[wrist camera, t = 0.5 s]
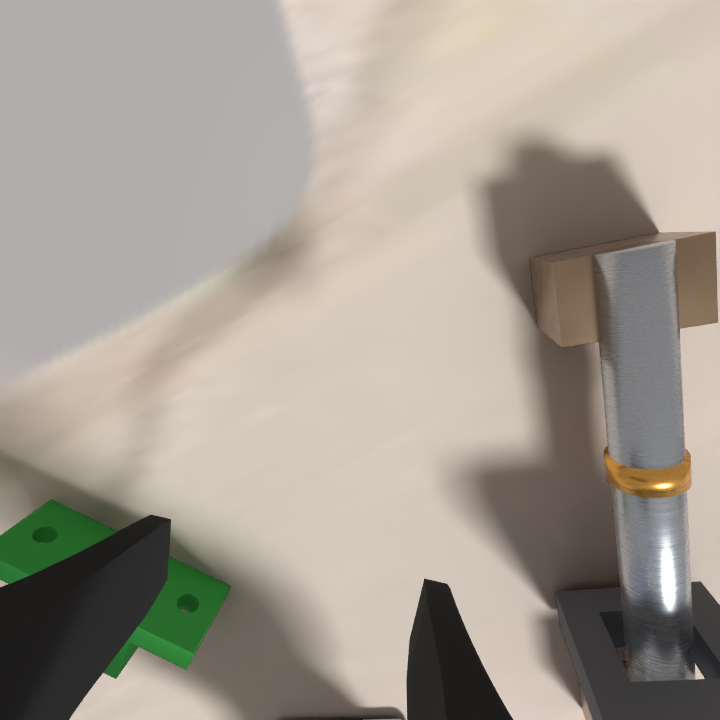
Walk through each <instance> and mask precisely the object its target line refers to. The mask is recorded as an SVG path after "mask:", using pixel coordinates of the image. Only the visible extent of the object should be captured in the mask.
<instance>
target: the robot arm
mask: <svg viewBox="0 0 720 720" xmlns="http://www.w3.org/2000/svg"><path fill="white" fill-rule="evenodd" d="M170 528H171V519H167V518H163V517H159V516H154V515H149V516H147V517H145V518H143V519H141V520H139V521H137V522H135V523H133V524H131V525H130V526H128V527H126V528H124V529H122V530H120V531H118V532H117V533H115V534H113V535H111V536H109V537H107V538H105V539H103V540H101V541H99V542H98V543H96V544H94V545H92V546H90V547H88V548H86V549H84V550H82V551H80V552H78V553H76V554H74V555H72V556H70V557H68V558H66V559H64V560H62V561H60V562H57V563H55V564H53V565H51V566H49V567H47V568H45V569H43V570H41V571H39V572H36V573H34V574H32V575H30V576H27V577H25V578H23V579H20V580H18V581H15V582H13V583H11V584H8V585H5V586H3V587H0V720H69V719H70V717H71V716H72V714H73V713H74V711H75V710H76V708H77V707H78V706H79V704H80V703H81V701H82V700H83V699H84V697H85V696H86V694H87V693H88V692H89V690H90V689H91V688H92V686H93V685H94V684H95V683H96V681H97V680H98V679H99V677H100V676H101V675H102V673H103V672H104V671H105V669H106V668H107V667H108V665H109V664H110V663H111V661H112V660H113V659H114V658H115V656H116V655H117V654H118V652H119V651H120V650H121V648H122V647H123V646H124V644H125V643H126V642H127V640H128V639H129V638H130V636H131V635H132V634H133V632H134V631H135V630H136V628H137V627H138V626H139V624H140V623H141V622H142V620H143V619H144V618H145V616H146V615H147V613H148V612H149V610H150V608H151V607H152V605H153V603H154V602H155V600H156V599H157V597H158V595H159V593H160V592H161V590H162V588H163V586H164V585H165V583H166V581H167V578H168V561H169V544H170ZM365 720H402V719H365ZM407 720H513V718H512V717H511V715H510V714H509V712H508V710H507V709H506V707H505V705H504V703H503V702H502V700H501V698H500V696H499V695H498V693H497V691H496V689H495V687H494V685H493V684H492V682H491V680H490V678H489V676H488V674H487V672H486V670H485V668H484V666H483V664H482V662H481V660H480V658H479V656H478V654H477V652H476V650H475V648H474V646H473V644H472V641H471V639H470V637H469V635H468V633H467V630H466V628H465V626H464V623H463V621H462V618H461V616H460V614H459V611H458V609H457V606H456V603H455V601H454V598H453V595H452V592H451V589H450V588H449V586H448V585H447V584H445V583H441V582H436V581H432V580H428V579H424V583H423V587H422V591H421V595H420V599H419V603H418V608H417V612H416V616H415V620H414V624H413V628H412V632H411V636H410V643H409V655H408V669H407Z"/></svg>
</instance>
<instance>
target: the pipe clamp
mask: <svg viewBox="0 0 720 720" xmlns="http://www.w3.org/2000/svg"><path fill="white" fill-rule="evenodd" d="M115 533H117V531H115V530H113V529H111V528H109V527H107V526H105V525H103V524H101V523H98V522H96V521H94V520H92V519H90V518H88V517H86V516H84V515H82V514H80V513H78V512H76V511H74V510H71V509H69V508H67V507H65V506H63V505H61V504H59V503H57V502H55V501H53V500H50V501H49V502H47V503H46V504H44V505H43V506H41V507H40V508H39V509H37V510H36V511H34V512H33V513H32V514H30V515H29V516H27V517H26V518H25V519H23V520H22V521H20V522H19V523H17V524H16V525H15V526H13V527H12V528H10V529H9V530H8V531H6V532H5V533H3V534H2V535H1V536H0V580H2V581H4V582H6V583H8V584H11V583H13V582H15V581H18V580H20V579H23V578H25V577H27V576H30V575H32V574H34V573H36V572H39V571H41V570H43V569H45V568H47V567H49V566H51V565H53V564H55V563H57V562H60V561H62V560H64V559H66V558H68V557H70V556H72V555H74V554H76V553H78V552H80V551H82V550H84V549H86V548H88V547H90V546H92V545H94V544H96V543H98V542H99V541H101V540H103V539H105V538H107V537H109V536H111V535H113V534H115ZM42 542H43V543H42ZM230 587H231V586H229V585H227V584H225V583H223V582H221V581H219V580H217V579H215V578H213V577H211V576H209V575H207V574H204V573H202V572H200V571H198V570H196V569H194V568H192V567H190V566H188V565H186V564H184V563H182V562H180V561H177V560H175V559H173V558H171V557H169V561H168V578H167V581H166V583H165V585H164V586H163V588H162V590H161V592H160V593H159V595H158V597H157V599H156V600H155V602H154V603H153V605H152V607H151V608H150V610H149V612H148V613H147V615H146V616H145V618H144V619H143V620H142V622H141V623H140V624H139V626H138V627H137V628H136V630H135V631H134V632H133V634H132V635H131V636H130V638H129V639H128V640H127V642H126V643H125V644H124V646H123V647H122V648H121V650H120V651H119V652H118V654H117V655H116V656H115V658H114V659H113V660H112V661H111V663H110V664H109V665H108V667H107V668H106V669H105V671H104V672H103V673H105V674H107V675H109V676H111V677H113V678H115V679H116V678H117V677H118V675H119V674H120V673H121V671H122V670H123V668H124V667H125V665H126V664H127V662H128V661H129V660H130V658H131V657H132V655H133V654H134V652H135V651H136V649H137V648H138V647H141V648H143V649H145V650H147V651H149V652H151V653H153V654H155V655H157V656H159V657H161V658H163V659H165V660H168V661H170V662H172V663H174V664H176V665H178V666H180V667H182V668H184V669H187V668H188V666H189V664H190V662H191V660H192V659H193V657H194V655H195V653H196V651H197V649H198V648H199V646H200V644H201V642H202V640H203V638H204V637H205V635H206V633H207V631H208V629H209V627H210V626H211V624H212V622H213V620H214V618H215V616H216V615H217V613H218V611H219V609H220V607H221V605H222V604H223V602H224V600H225V598H226V595H227V593H228V591H229V589H230ZM180 609H185V610H188V611H189V612H190V613H185V612H182V611H181V610H180Z"/></svg>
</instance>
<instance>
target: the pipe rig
mask: <svg viewBox="0 0 720 720" xmlns="http://www.w3.org/2000/svg"><path fill="white" fill-rule="evenodd" d="M529 259H530V268H531V276H532V285H533V293H534V302H535V310H536V319H537V327H538V329H539V330H540V331H542V332H543V333H544V334H545V335H547V336H548V337H549V338H550V339H552V340H553V341H554V342H555V343H557V344H558V345H559V346H560V347H568V346H574V345H580V344H586V343H593V342H599V349H600V361H601V372H602V384H603V395H604V407H605V418H606V430H607V441H608V446H607V447H606V448H605V450H604V458H605V469H606V478H607V481H608V482H609V483H610V484H611V488H612V499H613V511H614V522H615V534H616V545H617V557H618V568H619V580H620V592H621V603H622V615H623V626H624V638H625V649H626V661H627V662H623V665H624V667H625V670H626V672H627V674H628V676H629V678H630V680H631V682H643V681H671V680H695V659H694V637H693V615H692V593H691V570H690V548H689V526H688V503H687V490H688V489H689V488H690V487H691V484H692V478H691V456H690V453H689V452H688V450H686V449H685V436H684V414H683V392H682V370H681V347H680V328H687V327H693V326H699V325H705V324H712V323H718V307H717V268H716V232H669V233H656V234H651V235H646V236H641V237H635V238H630V239H625V240H620V241H615V242H610V243H605V244H599V245H594V246H589V247H584V248H579V249H574V250H569V251H564V252H558V253H553V254H548V255H543V256H538V257H533V258H529ZM579 686H580V694H581V703H582V710H583V713H584V716H585V719H586V720H593V719H592V716H591V714H590V711H589V708H588V705H587V702H586V699H585V696H584V694H583V691H582V688H581V685H580V682H579Z"/></svg>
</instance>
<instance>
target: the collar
mask: <svg viewBox="0 0 720 720" xmlns="http://www.w3.org/2000/svg"><path fill="white" fill-rule="evenodd" d="M691 593H692V615H693V637H694V659H695V664H696V665H697V667H698V668H699V670H700V672H701V673H702V675H703V676H704V678H705V679H699V680H671V681H643V682H631V680H630V678H629V676H628V674H627V672H626V670H625V667H624V665H623V663H622V661H621V659H620V657H619V655H618V652H617V650H616V648H615V647H625V638H624V626H623V615H622V603H621V592H620V587H615V588H601V589H587V590H573V591H558V592H556V600H557V608H558V616H559V624H560V628H561V631H562V634H563V636H564V639H565V642H566V645H567V648H568V651H569V654H570V656H571V659H572V662H573V665H574V668H575V671H576V674H577V676H578V679H579V682H580V685H581V688H582V691H583V694H584V696H585V699H586V702H587V705H588V708H589V711H590V714H591V716H592V719H593V720H720V605H719V604H718V603H717V601H716V600H715V599H714V598H713V596H712V595H711V594H710V593H709V591H708V590H707V589H706V588H705V587H704V585H703V584H702V583H701V582H691Z"/></svg>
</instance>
